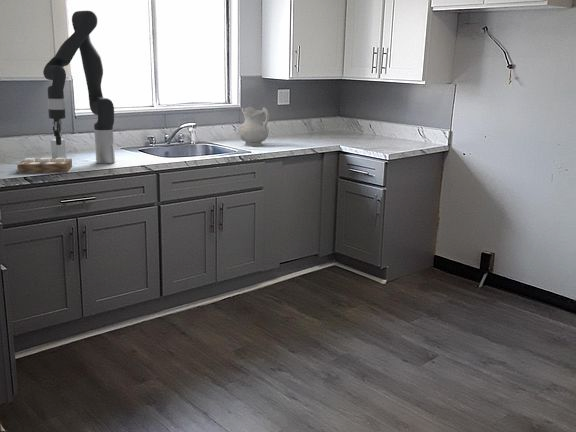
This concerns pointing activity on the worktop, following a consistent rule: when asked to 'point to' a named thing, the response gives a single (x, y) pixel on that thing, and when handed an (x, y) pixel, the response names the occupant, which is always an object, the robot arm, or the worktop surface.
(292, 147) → the worktop surface
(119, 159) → the worktop surface
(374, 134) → the worktop surface
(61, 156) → the skincare box
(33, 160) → the button
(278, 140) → the worktop surface
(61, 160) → the button
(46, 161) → the button middle
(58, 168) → the button board
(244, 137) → the ceramic pitcher
